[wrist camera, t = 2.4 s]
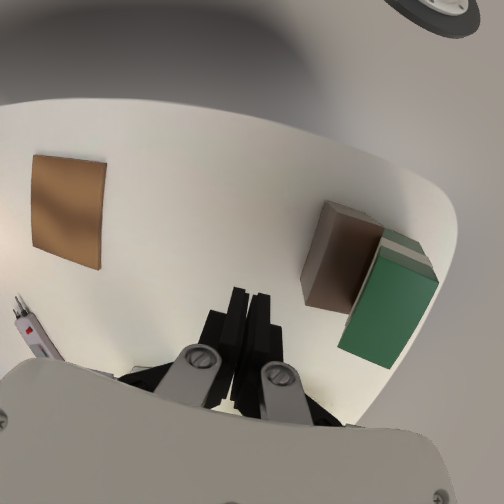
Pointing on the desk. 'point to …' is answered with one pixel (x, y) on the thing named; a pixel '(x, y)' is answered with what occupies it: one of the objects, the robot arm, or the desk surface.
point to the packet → (390, 300)
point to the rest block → (339, 258)
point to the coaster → (68, 208)
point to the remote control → (35, 335)
